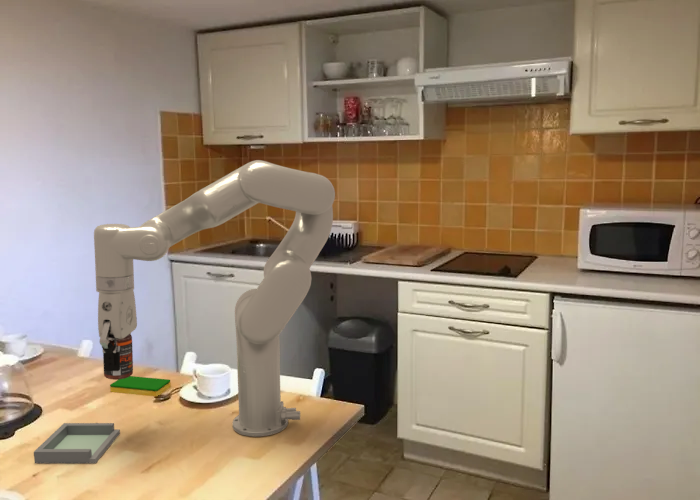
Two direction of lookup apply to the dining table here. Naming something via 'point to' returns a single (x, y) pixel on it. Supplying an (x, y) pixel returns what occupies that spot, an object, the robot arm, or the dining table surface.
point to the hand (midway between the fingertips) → (118, 364)
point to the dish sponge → (140, 386)
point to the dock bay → (77, 443)
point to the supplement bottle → (122, 359)
